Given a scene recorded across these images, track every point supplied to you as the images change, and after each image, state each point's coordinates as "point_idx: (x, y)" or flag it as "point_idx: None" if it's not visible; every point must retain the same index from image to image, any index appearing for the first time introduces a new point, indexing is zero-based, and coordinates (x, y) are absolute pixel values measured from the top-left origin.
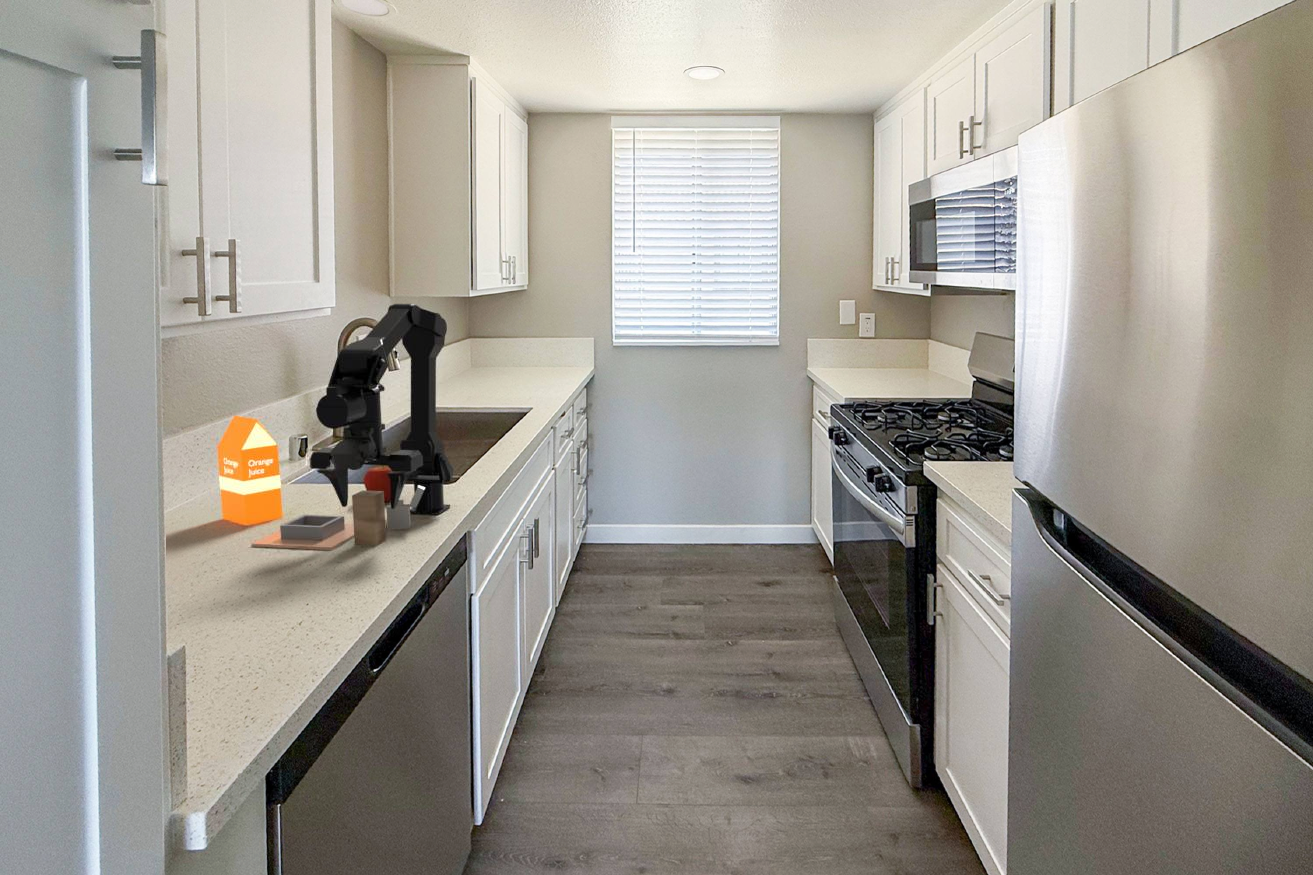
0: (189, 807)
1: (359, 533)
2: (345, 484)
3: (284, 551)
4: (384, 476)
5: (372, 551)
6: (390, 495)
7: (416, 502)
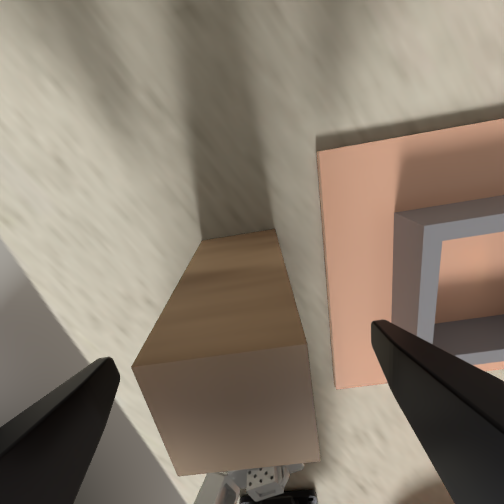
0: None
1: (256, 245)
2: (460, 480)
3: (487, 74)
4: None
5: (172, 186)
6: (47, 414)
7: (202, 494)
